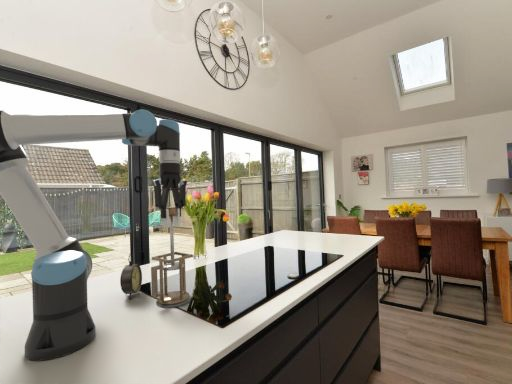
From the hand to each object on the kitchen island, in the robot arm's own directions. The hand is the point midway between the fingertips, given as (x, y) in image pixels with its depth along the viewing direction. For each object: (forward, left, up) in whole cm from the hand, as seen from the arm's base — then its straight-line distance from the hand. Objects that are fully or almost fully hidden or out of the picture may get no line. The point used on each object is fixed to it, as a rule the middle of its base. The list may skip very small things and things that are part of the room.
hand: (171, 226), depth 97 cm
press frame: (0, 0, -27) cm, 27 cm away
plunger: (0, 0, -15) cm, 15 cm away
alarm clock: (-6, +19, -27) cm, 34 cm away
